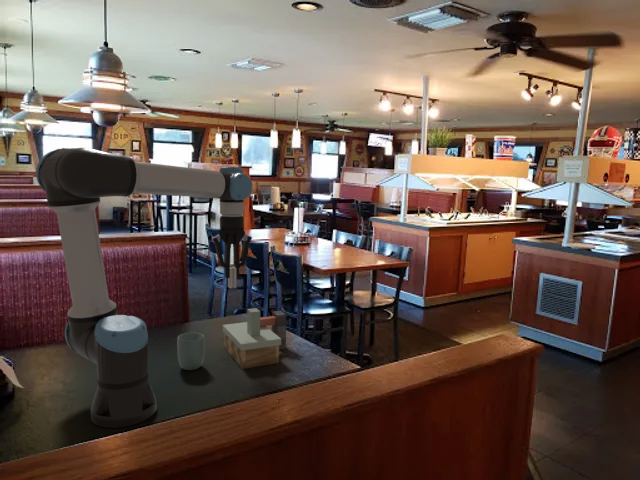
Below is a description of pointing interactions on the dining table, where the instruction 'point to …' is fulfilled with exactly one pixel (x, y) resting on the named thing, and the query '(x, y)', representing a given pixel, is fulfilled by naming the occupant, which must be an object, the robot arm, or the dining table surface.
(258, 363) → the wooden box
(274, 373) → the dining table surface
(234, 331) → the lid
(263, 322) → the red bar
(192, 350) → the cup
